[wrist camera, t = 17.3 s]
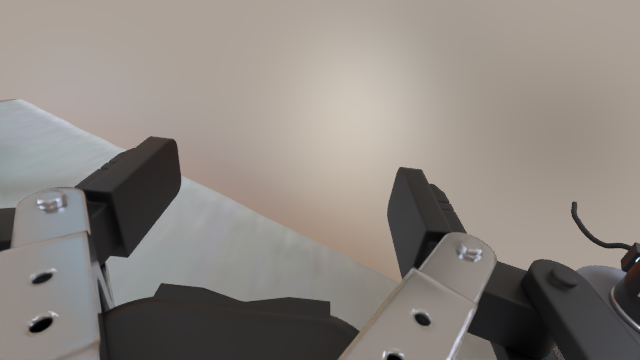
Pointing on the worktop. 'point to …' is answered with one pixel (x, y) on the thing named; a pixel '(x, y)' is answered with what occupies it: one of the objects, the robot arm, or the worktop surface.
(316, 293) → the worktop surface
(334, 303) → the worktop surface
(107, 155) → the worktop surface
